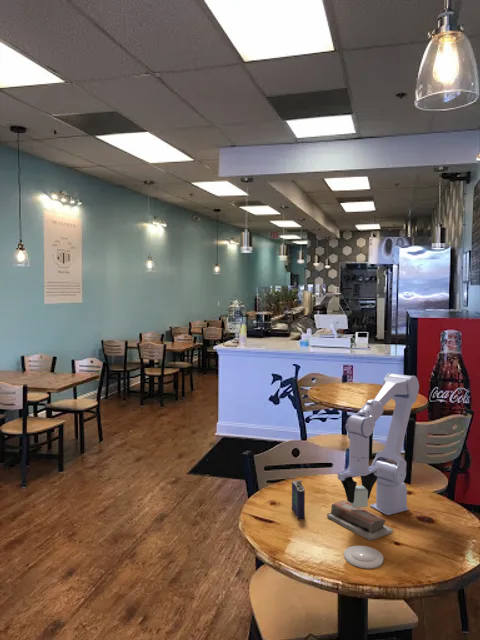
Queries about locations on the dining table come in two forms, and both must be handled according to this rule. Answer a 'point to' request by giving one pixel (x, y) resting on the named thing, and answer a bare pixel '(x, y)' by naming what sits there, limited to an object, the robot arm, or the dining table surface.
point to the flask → (298, 499)
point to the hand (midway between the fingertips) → (358, 499)
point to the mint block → (360, 497)
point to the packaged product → (358, 520)
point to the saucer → (363, 557)
